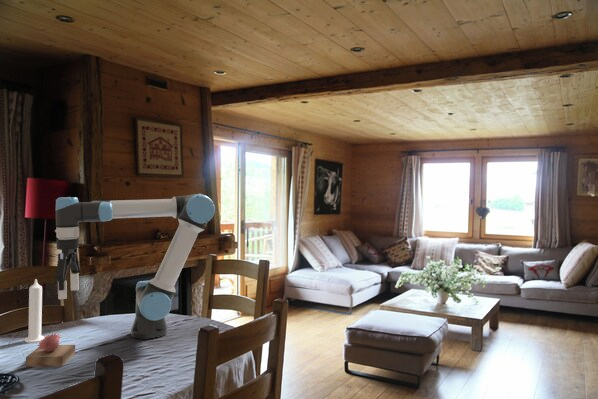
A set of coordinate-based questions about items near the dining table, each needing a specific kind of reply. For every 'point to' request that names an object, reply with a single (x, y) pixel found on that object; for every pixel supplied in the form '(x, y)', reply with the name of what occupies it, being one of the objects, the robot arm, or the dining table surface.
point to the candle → (35, 313)
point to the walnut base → (50, 356)
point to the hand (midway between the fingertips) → (68, 294)
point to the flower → (49, 342)
